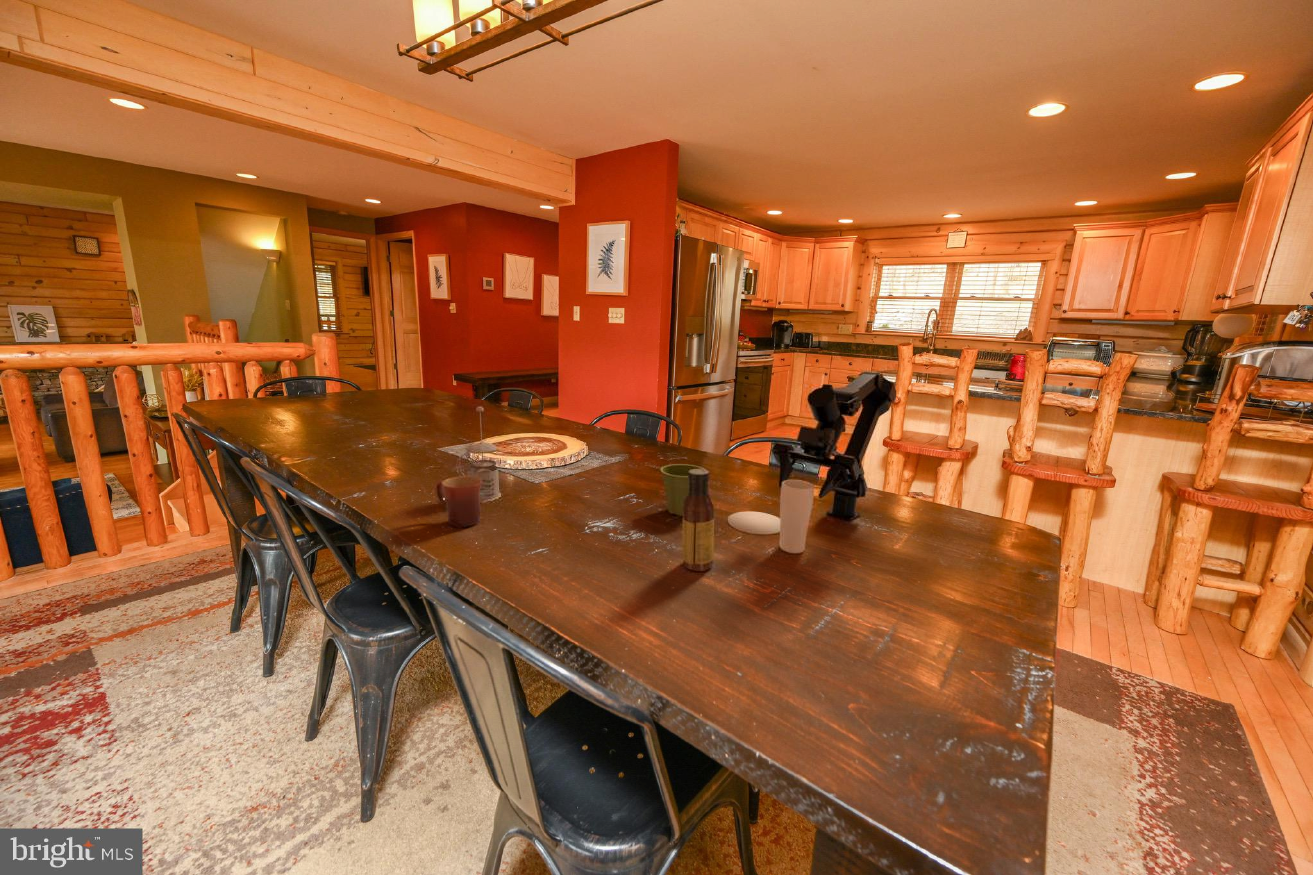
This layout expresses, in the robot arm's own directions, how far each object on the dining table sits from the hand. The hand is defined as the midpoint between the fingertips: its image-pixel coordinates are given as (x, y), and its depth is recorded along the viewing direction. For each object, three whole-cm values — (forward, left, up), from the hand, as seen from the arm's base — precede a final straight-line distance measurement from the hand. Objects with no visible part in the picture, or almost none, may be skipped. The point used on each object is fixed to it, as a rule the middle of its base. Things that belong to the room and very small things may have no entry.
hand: (799, 492), depth 107 cm
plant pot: (+4, -31, -13) cm, 34 cm away
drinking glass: (+1, 0, -13) cm, 13 cm away
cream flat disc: (-5, -14, -13) cm, 20 cm away
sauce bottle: (+23, -8, -13) cm, 28 cm away
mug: (+51, -59, -13) cm, 79 cm away
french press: (+40, -72, -13) cm, 83 cm away
